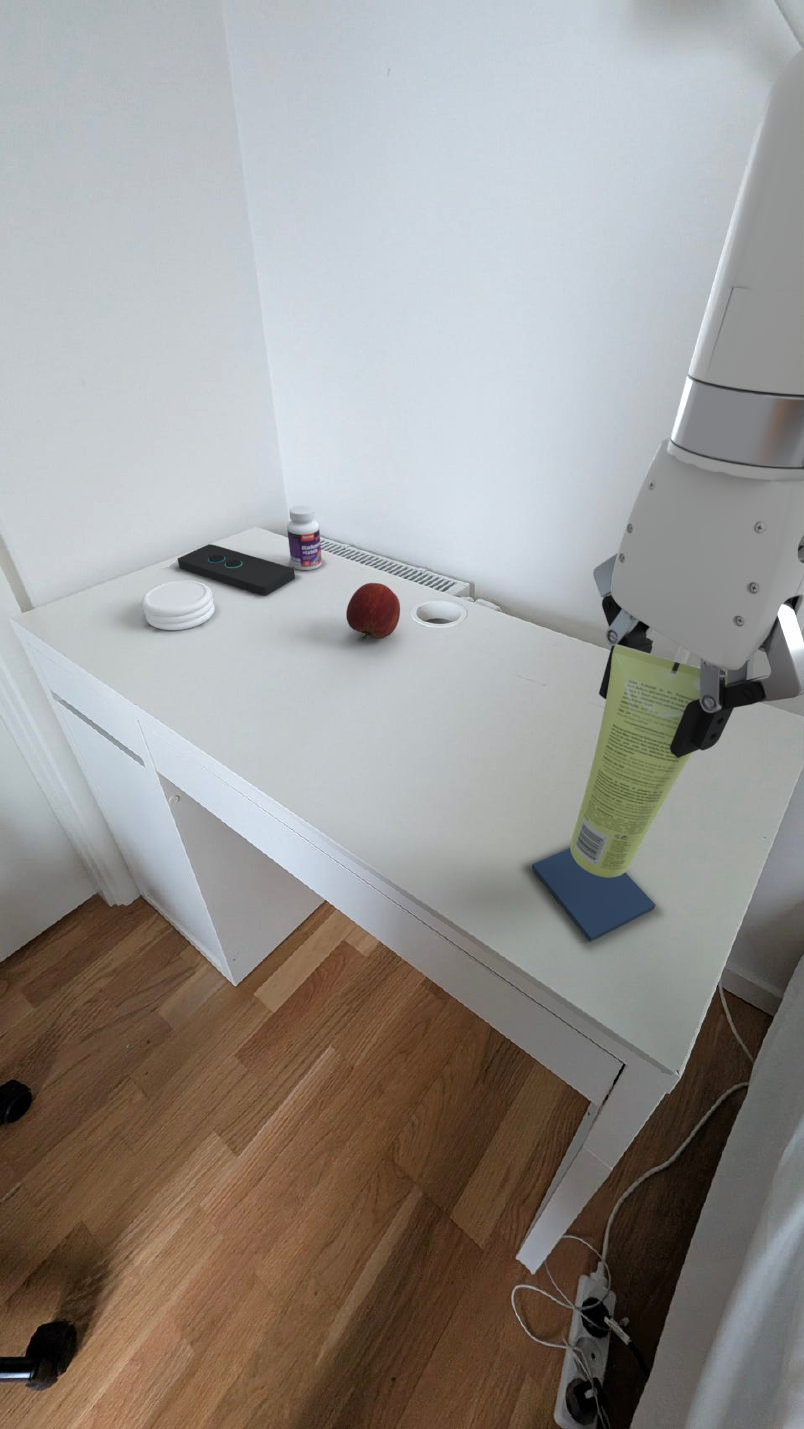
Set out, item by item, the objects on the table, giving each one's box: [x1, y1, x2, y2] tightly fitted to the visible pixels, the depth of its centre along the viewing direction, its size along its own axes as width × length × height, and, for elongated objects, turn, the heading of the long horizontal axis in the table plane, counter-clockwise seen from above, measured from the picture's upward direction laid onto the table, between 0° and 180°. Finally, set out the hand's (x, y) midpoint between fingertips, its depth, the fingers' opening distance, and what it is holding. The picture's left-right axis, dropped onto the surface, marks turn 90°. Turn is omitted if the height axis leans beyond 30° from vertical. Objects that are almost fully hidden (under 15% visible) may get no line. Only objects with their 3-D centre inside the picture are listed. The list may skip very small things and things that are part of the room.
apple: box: [345, 582, 401, 639], centre depth 81 cm, size 7×8×8 cm
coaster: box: [141, 579, 216, 631], centre depth 87 cm, size 10×10×4 cm
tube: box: [569, 644, 727, 878], centre depth 42 cm, size 6×5×20 cm
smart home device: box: [177, 543, 296, 596], centre depth 99 cm, size 8×2×20 cm
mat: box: [531, 847, 656, 943], centre depth 51 cm, size 8×7×1 cm
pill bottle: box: [286, 505, 323, 571], centre depth 99 cm, size 5×5×10 cm
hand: (652, 717), depth 39 cm, fingers closed on tube, 5 cm apart
